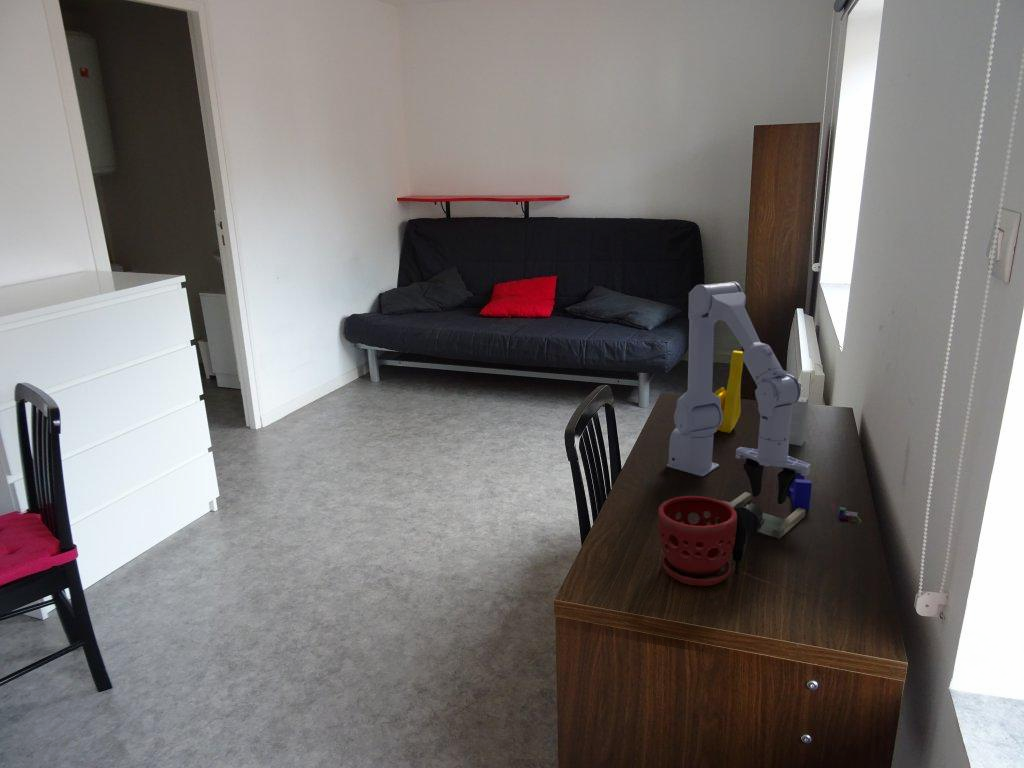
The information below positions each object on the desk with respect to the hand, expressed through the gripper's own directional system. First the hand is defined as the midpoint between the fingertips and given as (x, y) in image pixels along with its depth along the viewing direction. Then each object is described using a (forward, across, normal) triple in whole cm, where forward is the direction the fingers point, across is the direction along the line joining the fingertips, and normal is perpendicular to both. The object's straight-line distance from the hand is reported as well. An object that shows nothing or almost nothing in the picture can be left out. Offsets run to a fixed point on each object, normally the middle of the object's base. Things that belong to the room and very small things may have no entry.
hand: (768, 498), depth 145 cm
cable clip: (+3, +1, +11) cm, 11 cm away
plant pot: (+3, 0, -30) cm, 30 cm away
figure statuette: (+3, -29, +38) cm, 48 cm away
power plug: (+3, +6, -23) cm, 24 cm away
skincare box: (+3, -12, +40) cm, 42 cm away
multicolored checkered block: (+4, +13, +8) cm, 16 cm away
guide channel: (+3, 0, -3) cm, 4 cm away
